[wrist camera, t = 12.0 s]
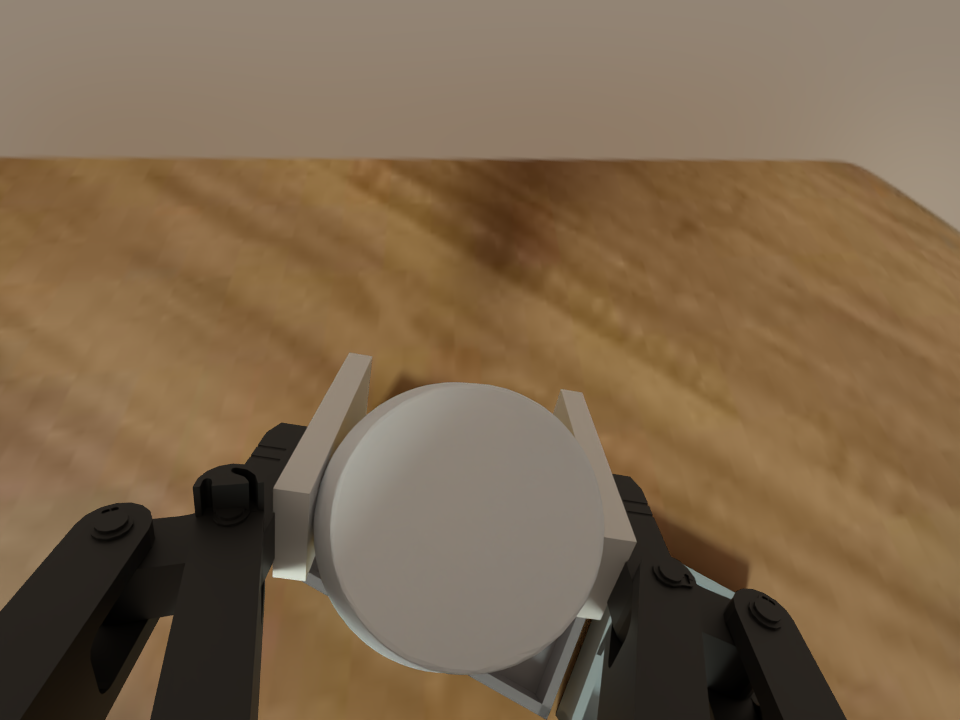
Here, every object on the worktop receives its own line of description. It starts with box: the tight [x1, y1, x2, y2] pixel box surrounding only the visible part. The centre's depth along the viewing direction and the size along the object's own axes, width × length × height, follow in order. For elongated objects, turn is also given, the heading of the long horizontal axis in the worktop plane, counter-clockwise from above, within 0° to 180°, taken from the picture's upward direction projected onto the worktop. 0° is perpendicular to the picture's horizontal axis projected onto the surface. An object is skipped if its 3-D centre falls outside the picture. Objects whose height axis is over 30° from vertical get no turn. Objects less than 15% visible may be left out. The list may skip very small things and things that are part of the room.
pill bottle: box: [313, 382, 605, 675], centre depth 14 cm, size 6×6×12 cm
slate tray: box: [556, 565, 735, 720], centre depth 32 cm, size 12×10×2 cm
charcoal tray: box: [302, 556, 586, 720], centre depth 33 cm, size 12×18×2 cm
